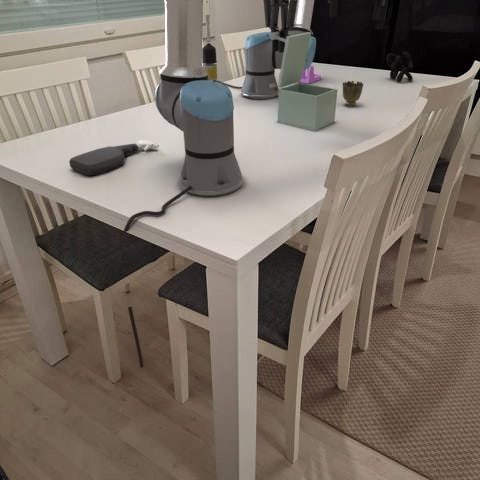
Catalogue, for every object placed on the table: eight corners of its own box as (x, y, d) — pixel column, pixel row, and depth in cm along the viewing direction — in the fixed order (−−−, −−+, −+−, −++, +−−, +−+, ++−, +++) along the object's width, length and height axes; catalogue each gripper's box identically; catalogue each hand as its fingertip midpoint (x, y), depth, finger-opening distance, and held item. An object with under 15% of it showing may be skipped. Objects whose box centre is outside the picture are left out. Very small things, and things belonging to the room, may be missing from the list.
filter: (220, 99, 177) (217, 15, 161) (206, 100, 176) (202, 16, 160) (215, 96, 182) (212, 14, 166) (202, 97, 180) (197, 14, 164)
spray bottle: (67, 168, 120) (139, 144, 136) (91, 178, 114) (163, 151, 130) (65, 157, 118) (137, 134, 134) (89, 167, 112) (162, 142, 128)
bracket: (309, 83, 198) (310, 66, 194) (298, 81, 200) (299, 65, 197) (323, 78, 206) (324, 62, 203) (312, 76, 209) (313, 60, 205)
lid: (311, 32, 143) (288, 24, 147) (289, 37, 135) (266, 28, 140) (300, 81, 153) (279, 72, 157) (279, 88, 145) (258, 78, 149)
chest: (334, 122, 150) (337, 89, 145) (314, 131, 143) (317, 96, 137) (297, 114, 159) (299, 82, 153) (277, 122, 152) (278, 89, 146)
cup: (337, 106, 166) (340, 84, 162) (343, 101, 171) (346, 79, 167) (357, 108, 163) (360, 86, 159) (363, 103, 168) (365, 81, 164)
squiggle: (400, 92, 202) (376, 71, 205) (417, 76, 202) (392, 56, 205) (405, 81, 191) (380, 59, 194) (423, 64, 191) (397, 42, 194)
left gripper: (418, -78, 108) (402, 19, 119) (329, -72, 122) (322, 14, 134) (404, -79, 104) (389, 22, 115) (314, -73, 118) (308, 16, 129)
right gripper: (309, -33, 132) (304, 52, 145) (268, -32, 141) (267, 48, 154) (294, -32, 128) (290, 55, 140) (253, -32, 136) (253, 51, 149)
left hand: (353, 18), depth 124 cm, fingers open, 13 cm apart
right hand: (278, 51), depth 147 cm, fingers closed on lid, 2 cm apart
